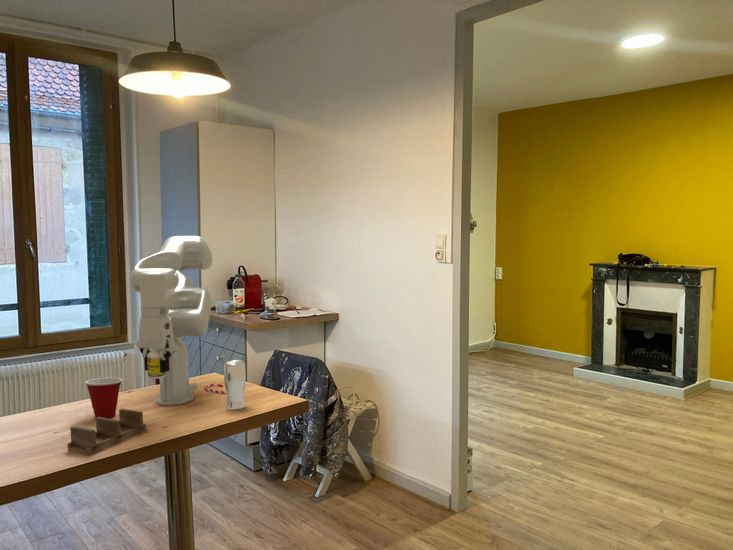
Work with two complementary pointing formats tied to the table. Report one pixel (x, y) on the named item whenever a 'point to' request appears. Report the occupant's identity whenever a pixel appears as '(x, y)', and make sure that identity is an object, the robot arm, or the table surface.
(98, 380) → the plastic cup
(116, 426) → the rack
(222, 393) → the candy cane
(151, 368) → the supplement bottle
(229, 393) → the beer glass
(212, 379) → the table surface
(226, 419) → the table surface
